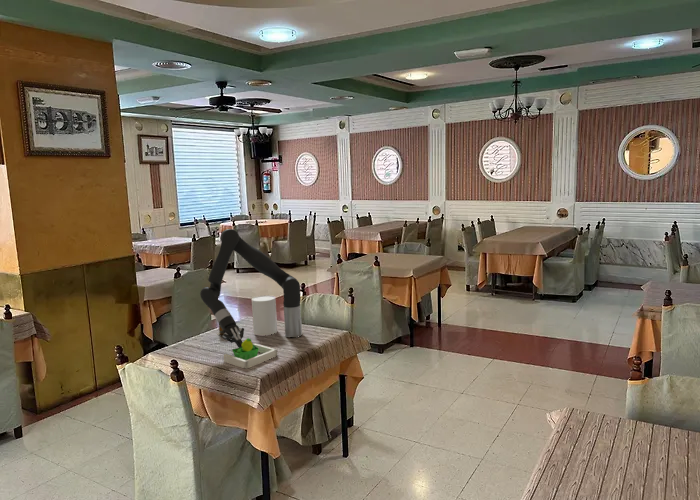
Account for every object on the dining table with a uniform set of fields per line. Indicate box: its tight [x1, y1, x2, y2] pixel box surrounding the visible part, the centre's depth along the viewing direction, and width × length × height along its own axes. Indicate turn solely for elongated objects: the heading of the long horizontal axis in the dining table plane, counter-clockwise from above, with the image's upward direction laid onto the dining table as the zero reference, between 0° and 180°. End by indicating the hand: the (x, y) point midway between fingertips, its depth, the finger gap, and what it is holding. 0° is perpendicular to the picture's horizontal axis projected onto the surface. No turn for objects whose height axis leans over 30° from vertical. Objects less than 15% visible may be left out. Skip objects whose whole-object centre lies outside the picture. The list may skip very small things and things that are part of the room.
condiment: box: [216, 324, 224, 337], centre depth 288 cm, size 7×8×12 cm
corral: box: [223, 343, 279, 370], centre depth 247 cm, size 16×20×4 cm
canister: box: [251, 294, 278, 337], centre depth 288 cm, size 14×14×20 cm
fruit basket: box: [232, 337, 259, 360], centre depth 246 cm, size 11×9×11 cm
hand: (241, 347), depth 250 cm, fingers closed
